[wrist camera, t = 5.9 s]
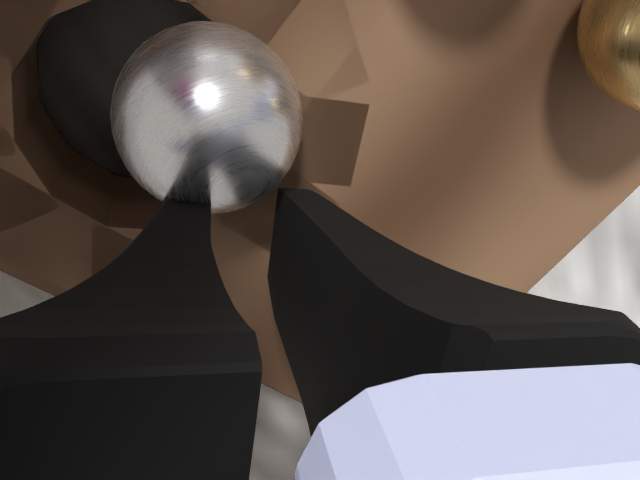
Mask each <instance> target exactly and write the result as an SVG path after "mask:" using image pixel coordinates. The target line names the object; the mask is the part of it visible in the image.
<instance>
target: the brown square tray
mask: <svg viewBox="0 0 640 480" xmlns="http://www.w3.org/2000/svg"><path fill="white" fill-rule="evenodd" d="M88 1H91V0H0V270H1V271H3V272H5V273H7V274H9V275H11V276H13V277H16V278H18V279H20V280H22V281H24V282H26V283H28V284H31V285H33V286H35V287H37V288H39V289H41V290H43V291H45V292H48V293H50V294H52V295H54V296H57V295H59V294H61V293H63V292H65V291H67V290H69V289H71V288H73V287H75V286H77V285H78V284H80V283H81V282H83V281H85V280H86V279H88V278H89V277H91V276H92V275H94V274H96V273H97V272H99V271H100V270H102V269H104V268H105V267H106V266H107V265H108V264H110V263H111V262H112V261H113V260H114V259H116V258H117V257H118V256H119V255H120V254H121V253H122V252H123V251H124V250H125V249H126V248H127V247H128V246H129V245H130V244H131V243H132V242H133V241H134V239H135V238H136V237H137V236H138V235H139V234H140V233H141V232H142V230H143V229H144V228H145V227H146V226H147V224H148V223H149V221H150V220H151V218H152V217H153V216H154V214H155V213H156V211H157V210H158V208H159V206H160V205H161V203H162V201H161V200H159V199H157V198H156V197H154V196H153V195H152V194H150V193H149V192H148V191H146V190H145V189H144V188H143V187H142V186H141V185H140V184H139V183H138V182H137V181H136V180H135V179H134V178H133V177H125V176H116V175H114V174H112V173H111V172H109V171H107V170H106V169H104V168H102V167H101V166H99V165H97V164H96V163H94V162H92V161H91V160H89V159H87V158H86V157H84V156H82V155H81V154H79V153H77V152H76V151H74V150H72V149H71V148H69V147H68V146H67V144H66V142H65V141H64V139H63V138H62V136H61V134H60V133H59V131H58V130H57V128H56V126H55V125H54V123H53V122H52V120H51V118H50V117H49V115H48V114H47V112H46V110H45V109H44V107H43V106H42V104H41V102H40V101H39V99H38V68H37V41H38V40H39V38H40V36H41V35H42V33H43V32H44V30H45V29H46V27H47V26H48V24H49V23H50V21H51V19H52V18H53V16H54V15H56V14H59V13H61V12H64V11H66V10H69V9H71V8H74V7H76V6H78V5H81V4H83V3H86V2H88ZM176 1H182V2H188V3H190V4H191V5H192V6H194V7H195V8H196V9H197V10H199V11H200V12H201V13H202V14H204V15H205V16H206V17H207V18H209V19H210V20H211V21H212V22H219V23H225V24H229V25H232V26H235V27H237V28H240V29H242V30H245V31H247V32H249V33H251V34H252V35H254V36H256V37H257V38H259V39H260V40H262V41H263V42H264V43H265V44H267V45H268V46H269V47H270V48H271V49H272V50H273V51H274V52H275V53H276V54H277V55H278V56H279V57H280V59H281V60H282V61H283V63H284V64H285V65H286V67H287V68H288V70H289V72H290V74H291V76H292V78H293V80H294V82H295V84H296V87H297V90H298V93H299V97H300V100H301V107H302V116H303V124H302V136H301V141H300V145H299V149H298V152H297V154H296V157H295V159H294V162H293V164H292V166H291V167H290V169H289V171H288V172H287V174H286V175H285V176H284V178H283V179H282V181H281V182H280V183H279V184H278V185H277V186H276V187H275V188H274V189H273V190H272V191H271V192H269V193H268V194H267V195H266V196H264V197H263V198H261V199H260V200H258V201H257V202H255V203H253V204H251V205H249V206H247V207H244V208H242V209H239V210H235V211H231V212H226V213H219V214H211V245H212V250H213V254H214V257H215V261H216V264H217V267H218V270H219V273H220V276H221V279H222V281H223V284H224V287H225V289H226V291H227V293H228V295H229V297H230V299H231V301H232V303H233V305H234V307H235V309H236V310H237V311H238V313H239V314H240V315H241V317H242V318H243V319H244V321H245V322H246V323H247V325H248V326H250V327H251V328H252V329H253V330H254V331H255V333H256V337H257V342H258V346H259V351H260V355H261V359H262V379H261V383H262V384H264V385H266V386H268V387H270V388H272V389H274V390H276V391H278V392H280V393H283V394H285V395H287V396H289V397H291V398H293V399H295V400H297V401H299V402H301V403H302V400H301V397H300V394H299V391H298V388H297V385H296V382H295V379H294V376H293V373H292V370H291V367H290V364H289V361H288V358H287V355H286V352H285V349H284V346H283V343H282V340H281V337H280V334H279V331H278V328H277V325H276V322H275V319H274V314H273V309H272V303H271V298H270V291H269V285H268V279H267V275H268V267H269V258H270V250H271V242H272V233H273V225H274V216H275V208H276V200H277V191H278V188H292V189H309V190H312V191H314V192H316V193H318V194H319V195H321V196H323V197H324V198H326V199H327V200H329V201H330V202H332V203H333V204H335V205H336V206H338V207H339V208H341V209H342V210H344V211H345V212H347V213H348V214H350V215H351V216H353V217H355V218H356V219H358V220H359V221H361V222H362V223H364V224H365V225H367V226H369V227H370V228H372V229H373V230H375V231H377V232H378V233H380V234H382V235H383V236H385V237H387V238H389V239H390V240H392V241H394V242H396V243H398V244H399V245H401V246H403V247H405V248H407V249H409V250H411V251H413V252H415V253H417V254H419V255H421V256H423V257H425V258H427V259H430V260H432V261H434V262H436V263H439V264H441V265H443V266H445V267H448V268H450V269H453V270H455V271H458V272H460V273H463V274H466V275H469V276H472V277H475V278H477V279H480V280H483V281H486V282H489V283H492V284H495V285H498V286H502V287H505V288H509V289H512V290H516V291H519V292H523V293H527V292H528V291H529V290H530V289H531V288H532V287H533V286H534V285H535V284H536V283H537V282H538V281H539V280H540V279H542V278H543V277H544V276H545V275H546V274H547V273H548V272H549V271H550V270H551V269H552V268H553V267H554V266H555V265H556V264H557V263H558V262H559V261H560V260H562V259H563V258H564V257H565V256H566V255H567V254H568V253H569V252H570V251H571V250H572V249H573V248H574V247H575V246H576V245H577V244H578V243H579V242H580V241H582V240H583V239H584V238H585V237H586V236H587V235H588V234H589V233H590V232H591V231H592V230H593V229H594V228H595V227H596V226H597V225H598V224H599V223H600V222H602V221H603V220H604V219H605V218H606V217H607V216H608V215H609V214H610V213H611V212H612V211H613V210H614V209H615V208H616V207H617V206H618V205H619V204H620V203H622V202H623V201H624V200H625V199H626V198H627V197H628V196H629V195H630V194H631V193H632V192H633V191H634V190H635V189H636V188H637V187H638V186H639V185H640V112H637V111H633V110H630V109H628V108H625V107H623V106H621V105H618V104H617V103H615V102H614V101H612V100H611V99H609V98H608V97H606V96H605V95H604V94H603V93H602V92H601V91H600V90H599V89H598V88H597V87H596V86H595V85H594V84H593V83H592V81H591V80H590V78H589V77H588V75H587V73H586V71H585V69H584V67H583V65H582V62H581V59H580V56H579V52H578V45H577V26H578V19H579V14H580V10H581V7H582V4H583V1H584V0H176Z"/></svg>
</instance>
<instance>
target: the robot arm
mask: <svg viewBox="0 0 640 480" xmlns="http://www.w3.org/2000/svg"><path fill="white" fill-rule="evenodd" d="M267 279H268V285H269V291H270V298H271V303H272V309H273V314H274V319H275V322H276V325H277V328H278V331H279V334H280V337H281V340H282V343H283V346H284V349H285V352H286V355H287V358H288V361H289V364H290V367H291V370H292V373H293V376H294V379H295V382H296V385H297V388H298V391H299V394H300V397H301V400H302V403H303V407H304V410H305V414H306V417H307V421H308V425H309V429H310V434H311V439H310V441H309V443H308V444H307V446H306V448H305V450H304V452H303V454H302V456H301V458H300V460H299V461H298V463H297V466H296V472H295V478H294V480H640V328H639V327H638V326H637V325H636V324H635V323H633V322H632V321H631V320H630V319H629V318H628V317H627V316H626V315H625V314H623V313H622V312H618V311H613V310H607V309H601V308H595V307H590V306H584V305H578V304H573V303H567V302H561V301H556V300H552V299H548V298H544V297H540V296H536V295H532V294H527V293H523V292H519V291H516V290H512V289H509V288H505V287H502V286H498V285H495V284H492V283H489V282H486V281H483V280H480V279H477V278H475V277H472V276H469V275H466V274H463V273H460V272H458V271H455V270H453V269H450V268H448V267H445V266H443V265H441V264H439V263H436V262H434V261H432V260H430V259H427V258H425V257H423V256H421V255H419V254H417V253H415V252H413V251H411V250H409V249H407V248H405V247H403V246H401V245H399V244H398V243H396V242H394V241H392V240H390V239H389V238H387V237H385V236H383V235H382V234H380V233H378V232H377V231H375V230H373V229H372V228H370V227H369V226H367V225H365V224H364V223H362V222H361V221H359V220H358V219H356V218H355V217H353V216H351V215H350V214H348V213H347V212H345V211H344V210H342V209H341V208H339V207H338V206H336V205H335V204H333V203H332V202H330V201H329V200H327V199H326V198H324V197H323V196H321V195H319V194H318V193H316V192H314V191H312V190H309V189H292V188H278V191H277V200H276V208H275V216H274V225H273V233H272V242H271V250H270V258H269V267H268V275H267ZM261 379H262V359H261V355H260V351H259V346H258V342H257V337H256V333H255V331H254V330H253V329H252V328H251V327H250V326H248V325H247V323H246V322H245V321H244V319H243V318H242V317H241V315H240V314H239V313H238V311H237V310H236V309H235V307H234V305H233V303H232V301H231V299H230V297H229V295H228V293H227V291H226V289H225V287H224V284H223V281H222V279H221V276H220V273H219V270H218V267H217V264H216V261H215V257H214V254H213V250H212V245H211V203H197V202H188V201H180V200H175V199H170V198H167V199H165V200H163V201H162V203H161V205H160V206H159V208H158V210H157V211H156V213H155V214H154V216H153V217H152V218H151V220H150V221H149V223H148V224H147V226H146V227H145V228H144V229H143V230H142V232H141V233H140V234H139V235H138V236H137V237H136V238H135V239H134V241H133V242H132V243H131V244H130V245H129V246H128V247H127V248H126V249H125V250H124V251H123V252H122V253H121V254H120V255H119V256H118V257H117V258H116V259H114V260H113V261H112V262H111V263H110V264H108V265H107V266H106V267H105V268H104V269H102V270H100V271H99V272H97V273H96V274H94V275H92V276H91V277H89V278H88V279H86V280H85V281H83V282H81V283H80V284H78V285H77V286H75V287H73V288H71V289H69V290H67V291H65V292H63V293H61V294H59V295H57V296H55V297H53V298H51V299H49V300H47V301H44V302H42V303H40V304H37V305H35V306H33V307H30V308H28V309H25V310H23V311H20V312H17V313H14V314H11V315H7V316H4V317H1V318H0V480H249V474H250V466H251V458H252V450H253V442H254V434H255V426H256V418H257V410H258V402H259V394H260V386H261Z"/></svg>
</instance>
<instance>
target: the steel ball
mask: <svg viewBox="0 0 640 480" xmlns="http://www.w3.org/2000/svg"><path fill="white" fill-rule="evenodd" d="M110 118H111V128H112V135H113V138H114V142H115V145H116V148H117V151H118V153H119V155H120V157H121V159H122V161H123V163H124V165H125V167H126V168H127V170H128V171H129V172H130V174H131V175H132V176H133V178H134V179H135V180H136V181H137V182H138V183H139V184H140V185H141V186H142V187H143V188H144V189H145V190H146V191H148V192H149V193H150V194H152V195H153V196H154V197H156V198H157V199H159V200H161V201H163V200H165V199H167V198H170V199H175V200H180V201H188V202H197V203H211V214H219V213H226V212H231V211H235V210H239V209H242V208H244V207H247V206H249V205H251V204H253V203H255V202H257V201H258V200H260V199H261V198H263V197H264V196H266V195H267V194H268V193H269V192H271V191H272V190H273V189H274V188H275V187H276V186H277V185H278V184H279V183H280V182H281V181H282V179H283V178H284V176H285V175H286V174H287V172H288V171H289V169H290V167H291V166H292V164H293V162H294V159H295V157H296V154H297V152H298V149H299V145H300V141H301V136H302V124H303V116H302V107H301V100H300V97H299V93H298V90H297V87H296V84H295V82H294V80H293V78H292V76H291V74H290V72H289V70H288V68H287V67H286V65H285V64H284V63H283V61H282V60H281V59H280V57H279V56H278V55H277V54H276V53H275V52H274V51H273V50H272V49H271V48H270V47H269V46H268V45H267V44H265V43H264V42H263V41H262V40H260V39H259V38H257V37H256V36H254V35H252V34H251V33H249V32H247V31H245V30H242V29H240V28H237V27H235V26H232V25H229V24H225V23H219V22H211V21H194V22H187V23H182V24H178V25H175V26H172V27H169V28H167V29H165V30H162V31H160V32H158V33H157V34H155V35H153V36H152V37H150V38H149V39H147V40H146V41H145V42H144V43H142V44H141V45H140V46H139V47H138V48H137V49H136V50H135V51H134V52H133V53H132V55H131V56H130V57H129V58H128V60H127V61H126V63H125V65H124V66H123V68H122V70H121V71H120V73H119V76H118V78H117V80H116V83H115V86H114V90H113V94H112V100H111V111H110Z"/></svg>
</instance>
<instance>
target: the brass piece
mask: <svg viewBox="0 0 640 480" xmlns="http://www.w3.org/2000/svg"><path fill="white" fill-rule="evenodd" d="M577 45H578V52H579V56H580V59H581V62H582V65H583V67H584V69H585V71H586V73H587V75H588V77H589V78H590V80H591V81H592V83H593V84H594V85H595V86H596V87H597V88H598V89H599V90H600V91H601V92H602V93H603V94H604V95H605V96H606V97H608V98H609V99H611V100H612V101H614V102H615V103H617V104H618V105H621V106H623V107H625V108H628V109H630V110H633V111H637V112H640V0H584V1H583V4H582V7H581V10H580V14H579V19H578V26H577Z"/></svg>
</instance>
